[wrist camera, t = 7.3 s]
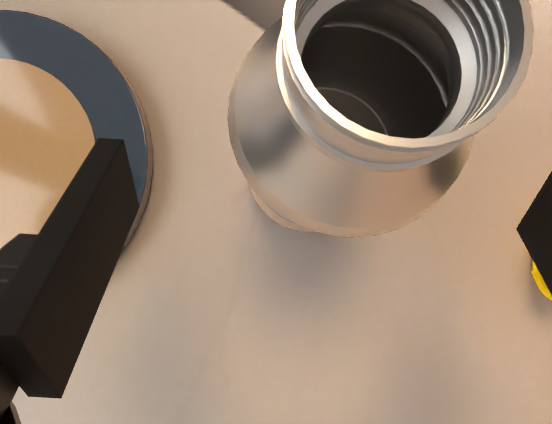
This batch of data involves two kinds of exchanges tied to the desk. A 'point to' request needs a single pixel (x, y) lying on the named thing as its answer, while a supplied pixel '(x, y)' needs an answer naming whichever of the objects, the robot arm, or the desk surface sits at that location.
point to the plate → (59, 118)
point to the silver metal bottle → (371, 106)
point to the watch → (540, 282)
